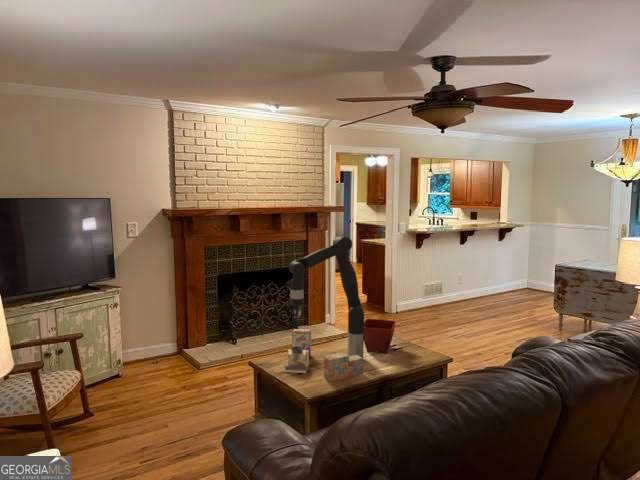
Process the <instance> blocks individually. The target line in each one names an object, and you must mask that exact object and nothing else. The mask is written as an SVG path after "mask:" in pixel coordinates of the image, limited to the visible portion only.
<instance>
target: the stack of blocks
mask: <svg viewBox="0 0 640 480" xmlns="http://www.w3.org/2000/svg"><path fill="white" fill-rule="evenodd" d="M363 371H364V357H363V358H362V357H360V356H358V355H353V356H349V355H348V353H345V352H339V353H333V354H329V355H328V354H327V355H324V356H323V377H324V379H325V380H327V381H328V382H332V381H336V380H343V379H346V378H350V377H355V376H360V375H363Z"/></svg>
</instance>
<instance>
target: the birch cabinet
mask: <svg viewBox="0 0 640 480" xmlns="http://www.w3.org/2000/svg"><path fill="white" fill-rule="evenodd" d="M291 350H292V351H289V353H288V352H287V364H288V365H294V366H306V352H305V351H303V346H295V345H291Z"/></svg>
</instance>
